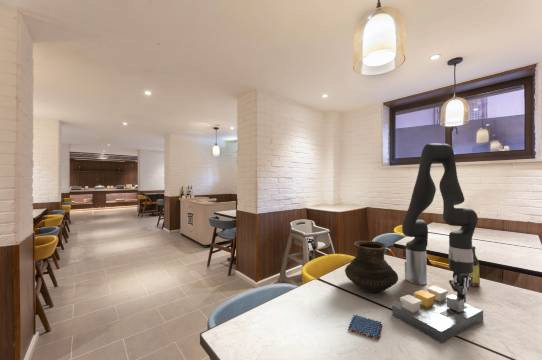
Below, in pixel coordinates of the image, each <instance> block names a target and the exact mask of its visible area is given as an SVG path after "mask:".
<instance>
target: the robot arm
mask: <svg viewBox="0 0 542 360" xmlns="http://www.w3.org/2000/svg"><path fill="white" fill-rule="evenodd" d="M433 164H441V165H442V167H443V169H444V170H443V171H444V172H443V175H442V177H441V179H440V181H439V192H440V194H441V198H442V202H443V207H442V208H443V209H442V210H443V211H442V219H443V221H444V223H446V224H447V225H448V226H451V227H452V226H453V227H460V228H459V229H458V230H454V231H450V232H449V234H448V268H449V269H450V270H451V271H452V272H453V273H452V280H451V279H449V280H448V281H449V282H448V283H449V285H450V286H451V288H452V290H453V291H454V292H456V294H457V295H456V296H458V297H460V298H463V299H464V303H466V302H467V293H468V291H470V289H471V288H470V287H471V282H472V279H473V277H471V276H469V273H473V271H474V270H473V251H472V246H473V236H474V233H475V230H476V227H477V224H478V219H479V218H478V214H477V213H476V211H475V210H474V209H473V208H469V207H467V208H466V207H458V208H457V207H456V208H455V206H457V205H460V204H463V203H464V202H465V196H464V193H463V191H462V187H461V184H460V181H459V178H458V172H457V165H456V159H455V153H454V150H453V147H452V146H451V145H450V144H448V143H427V144H425V145H424V147H423V148H422V151H421V153H420V159H419V165H418V172H417V176H416V180H415V183H414V186H413V190H412V193H411V198H410V202H409V205H408V208H407V212H406V213H405V216H404V218H403V222H402V226H401V229H402V234H403V235H404V236H406V237H409V238H413V239H412V240H410V241H407V242H406V244H405V247H406V248H405V253H406V254H405V256H406V257H405V259H406V260H405V261H404V279H405V280H407V282H409V283H412V284H414V285H427V283H428V278H427V277H428V276H427V275H428V271H427V270H428V269H427V267H428V266H427V264H428V263H427V247H428V245H429V244H428V240H429V239H428V238H429V236H428V235H429V227H428V225H427V222H426V221H425V220H424V219H418V218H419V217H420V215H421V214H422V213H424V212H425V210H427V209H428V208H429V207H430V206H431V205H432V203H433V201H434V199H435V196H436V191H437V187H436V184H435V182H434V181H433V178H432V176H431V168H432V165H433Z"/></svg>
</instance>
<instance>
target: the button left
mask: <svg viewBox="0 0 542 360" xmlns="http://www.w3.org/2000/svg"><path fill="white" fill-rule="evenodd" d="M415 297H416V296H414V295H410V294H406V295H403V296H401V297H399V301H401V302H402V307H403V308H405V309H407V310H409V311H411V312H413V313H414V312H416V311H419V310H420V304H422V300H420V299H417V298H415Z"/></svg>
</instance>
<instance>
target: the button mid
mask: <svg viewBox="0 0 542 360" xmlns="http://www.w3.org/2000/svg"><path fill="white" fill-rule="evenodd" d="M428 292H429V291H427V290H423V289H421V290H417V291H414V292H413V297H416V298H417V299H420V300H422V305H424V306H427V307H428V306H431V305H433V304H434V299H435V298H436V296H435V295H433V294H431V293H428Z"/></svg>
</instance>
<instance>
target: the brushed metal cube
mask: <svg viewBox="0 0 542 360" xmlns="http://www.w3.org/2000/svg"><path fill="white" fill-rule="evenodd" d="M446 296H447V307H448V308H451V309H453V310H455V311H457V312H460V311H462V310H464V299H463V298H460V297H458V296H457V295H455V294H450V295H446Z"/></svg>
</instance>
